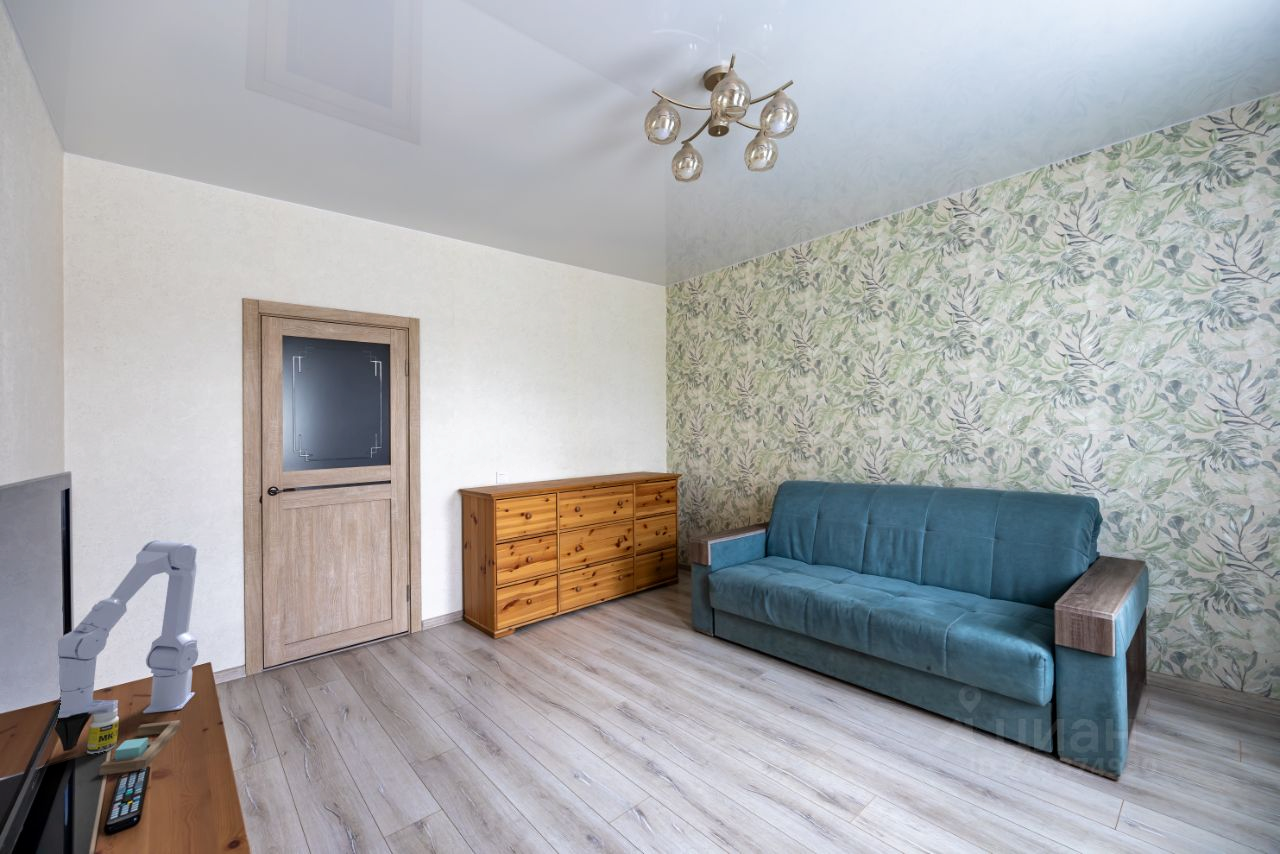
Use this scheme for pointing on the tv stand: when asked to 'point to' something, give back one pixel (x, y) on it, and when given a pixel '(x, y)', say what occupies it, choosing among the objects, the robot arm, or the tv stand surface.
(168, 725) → the frame
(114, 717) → the supplement bottle
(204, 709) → the tv stand surface
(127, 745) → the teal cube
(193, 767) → the tv stand surface
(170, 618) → the robot arm
